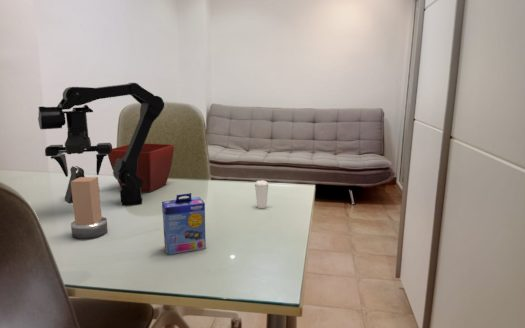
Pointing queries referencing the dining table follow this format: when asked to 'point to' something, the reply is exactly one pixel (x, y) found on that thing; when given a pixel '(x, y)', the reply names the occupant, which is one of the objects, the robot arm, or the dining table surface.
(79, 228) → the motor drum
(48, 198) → the dining table surface
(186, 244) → the ink cartridge box
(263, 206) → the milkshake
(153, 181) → the plant pot
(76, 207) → the tan rectangular block
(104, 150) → the robot arm
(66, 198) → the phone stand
